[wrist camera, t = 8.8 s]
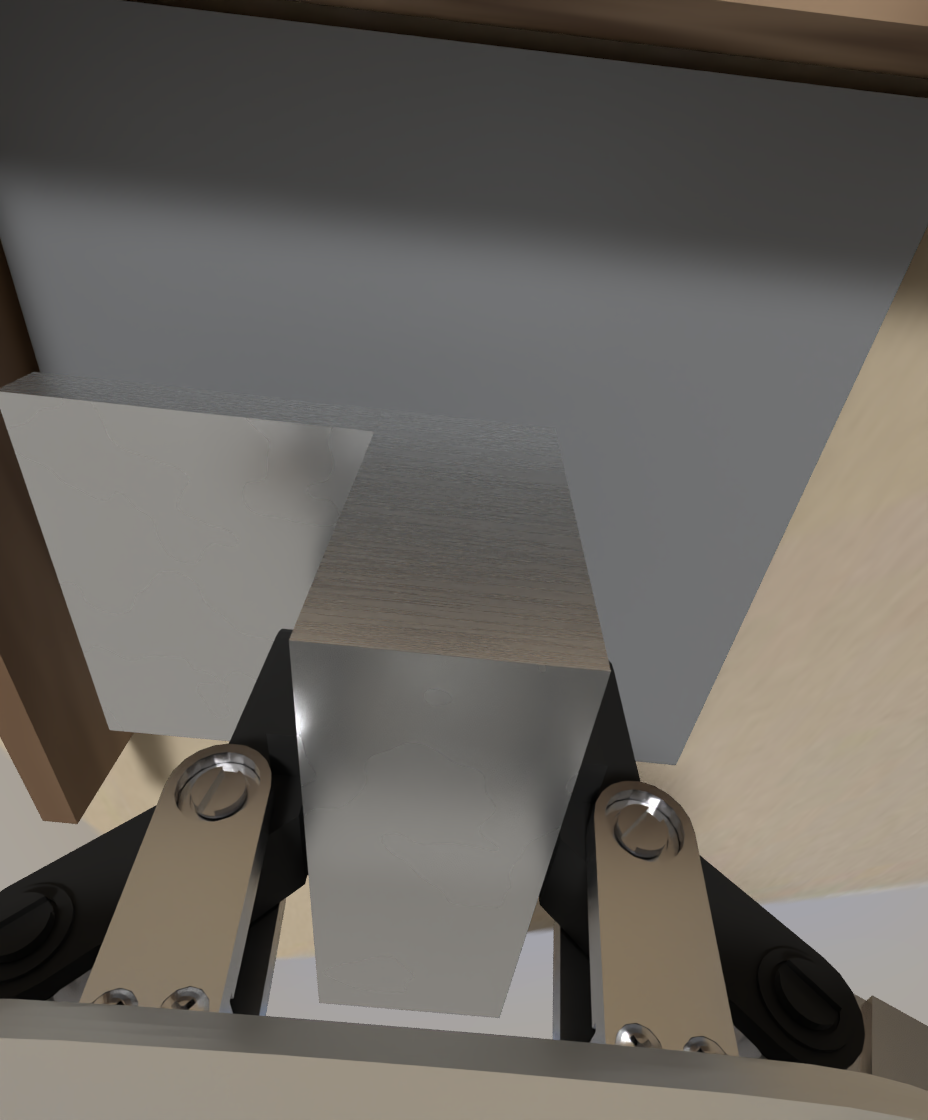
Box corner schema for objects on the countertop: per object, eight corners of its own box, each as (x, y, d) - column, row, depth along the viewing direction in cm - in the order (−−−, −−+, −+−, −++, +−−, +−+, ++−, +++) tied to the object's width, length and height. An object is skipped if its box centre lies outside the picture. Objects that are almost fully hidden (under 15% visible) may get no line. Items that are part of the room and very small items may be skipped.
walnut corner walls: (1142, -19, 10) (1468, -102, 7) (716, 775, 21) (756, 889, 18) (-191, -188, 9) (-559, -364, 6) (113, 714, 21) (43, 820, 18)
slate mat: (969, 106, 11) (983, 105, 10) (673, 755, 21) (675, 765, 21) (-60, -19, 10) (-77, -24, 10) (147, 702, 21) (141, 711, 20)
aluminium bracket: (496, 732, 15) (499, 1018, 10) (131, 697, 15) (-49, 972, 10) (555, 427, 11) (610, 671, 6) (33, 371, 10) (-383, 574, 5)
